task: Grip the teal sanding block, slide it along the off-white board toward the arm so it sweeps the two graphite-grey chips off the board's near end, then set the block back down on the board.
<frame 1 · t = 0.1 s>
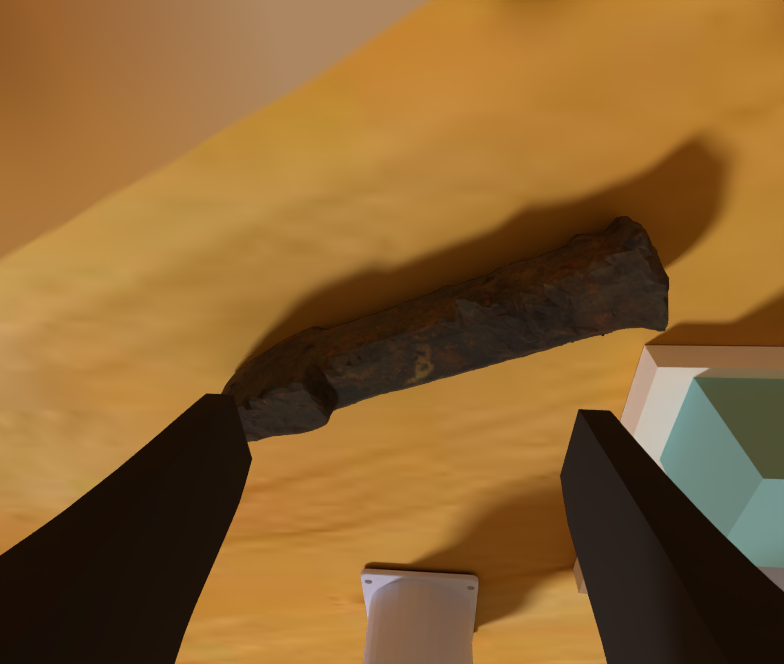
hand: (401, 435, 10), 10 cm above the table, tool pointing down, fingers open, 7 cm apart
mark chip 2: (762, 561, 25), point 1 cm above the table, touching board
hand tool: (413, 325, 21), on the table
board: (740, 485, 24), on the table
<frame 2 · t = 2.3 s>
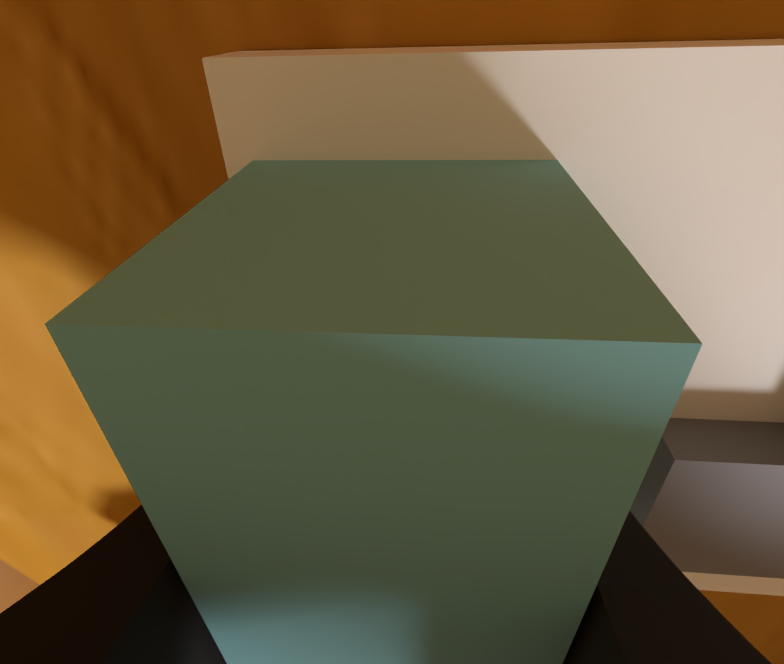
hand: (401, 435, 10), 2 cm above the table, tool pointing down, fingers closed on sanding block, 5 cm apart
mark chip 1: (714, 480, 11), point 1 cm above the table, touching board
sanding block: (403, 406, 11), point 1 cm above the table, touching board, gripper
board: (650, 374, 11), on the table
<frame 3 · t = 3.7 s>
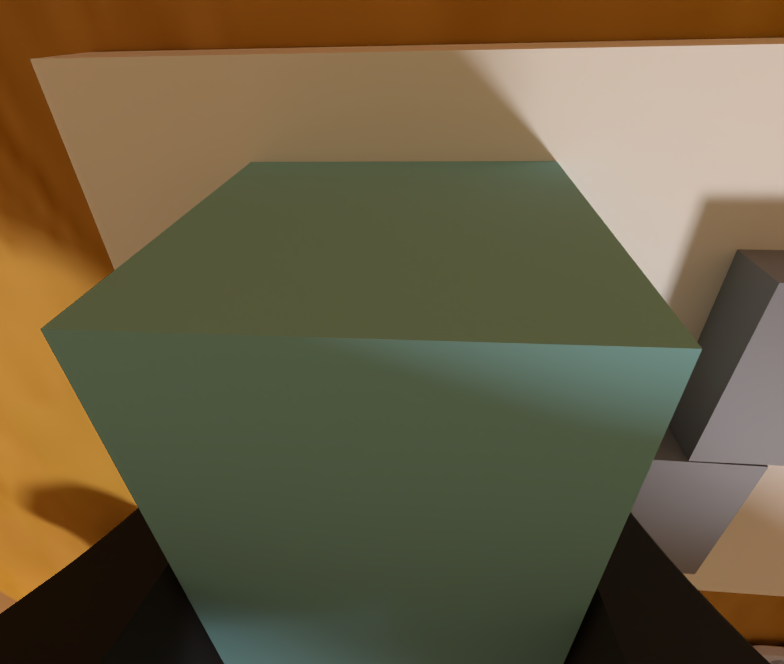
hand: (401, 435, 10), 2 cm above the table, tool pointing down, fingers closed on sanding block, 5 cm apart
mark chip 1: (617, 475, 11), point 2 cm above the table, touching gripper
sanding block: (403, 407, 11), point 2 cm above the table, touching gripper
board: (536, 370, 12), on the table
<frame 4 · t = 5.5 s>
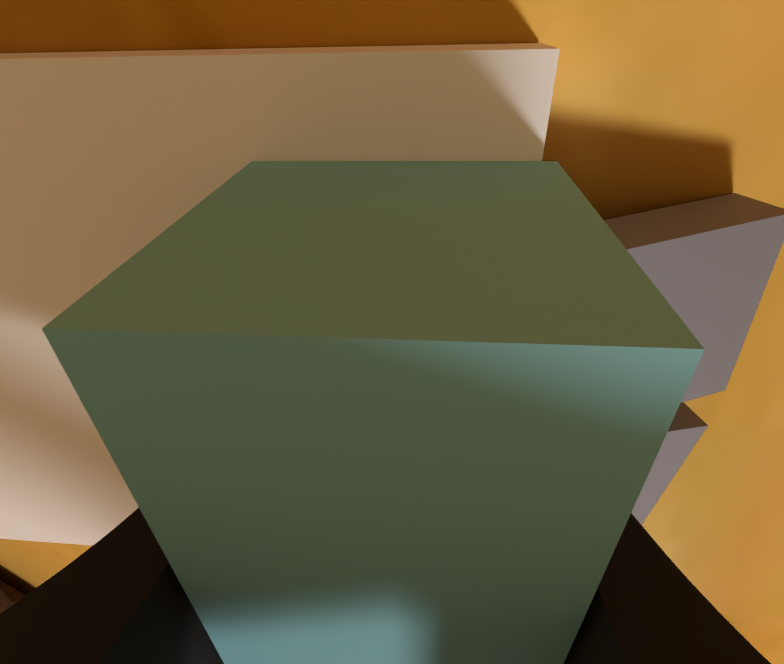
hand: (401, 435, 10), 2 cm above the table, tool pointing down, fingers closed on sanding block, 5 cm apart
mark chip 2: (623, 305, 10), point 1 cm above the table, tilted 20°
mark chip 1: (577, 454, 12), point 1 cm above the table, tilted 19°
hand tool: (86, 611, 23), on the table
sanding block: (403, 407, 11), point 2 cm above the table, touching gripper
board: (156, 355, 12), on the table
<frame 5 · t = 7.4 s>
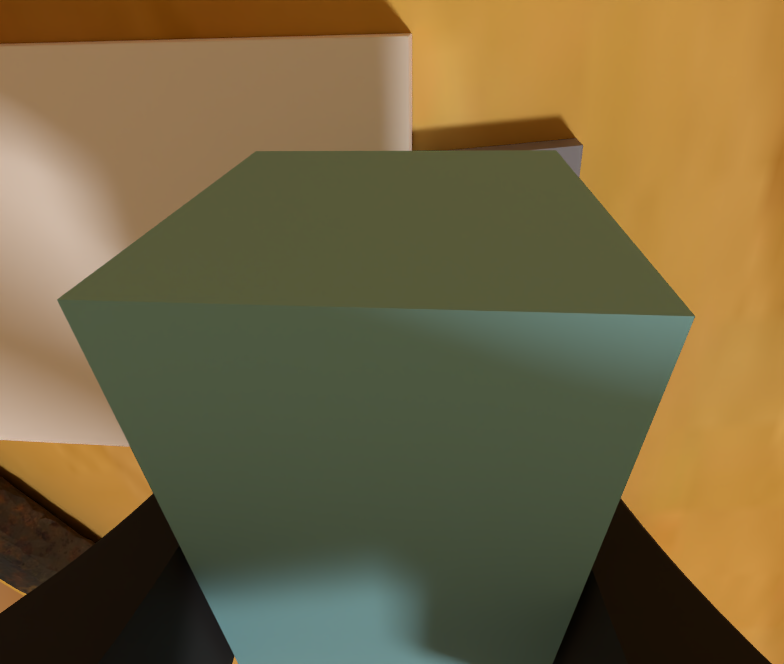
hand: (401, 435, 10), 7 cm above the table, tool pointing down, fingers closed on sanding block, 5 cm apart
mark chip 2: (496, 209, 14), on the table
hand tool: (97, 529, 27), on the table
sanding block: (404, 397, 11), point 6 cm above the table, touching gripper
board: (153, 279, 16), on the table
when the fingers open (4 cm above the table, at t = 9.3 s): sanding block drops 1 cm, resting on board.
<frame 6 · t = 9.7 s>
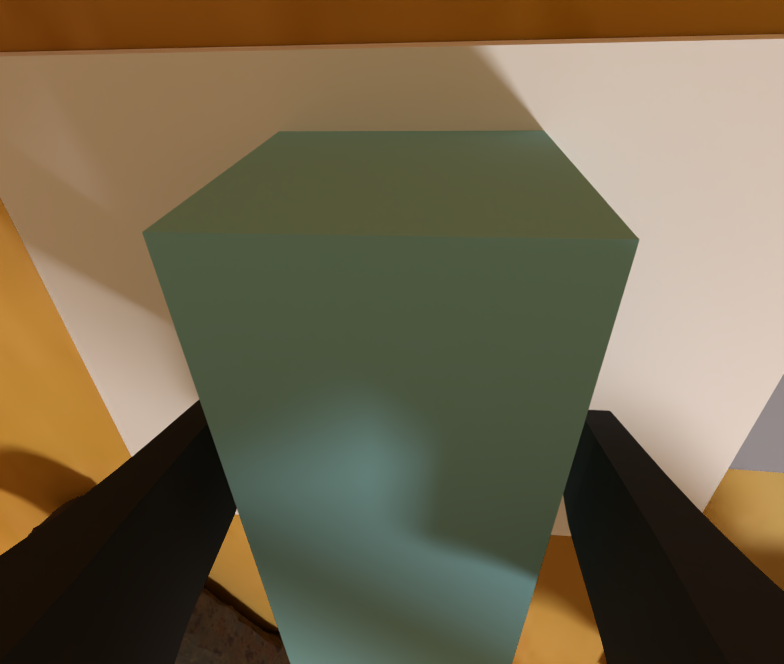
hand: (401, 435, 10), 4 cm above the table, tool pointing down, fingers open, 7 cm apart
hand tool: (232, 590, 24), on the table
sanding block: (408, 361, 12), point 1 cm above the table, touching board
board: (410, 332, 13), on the table
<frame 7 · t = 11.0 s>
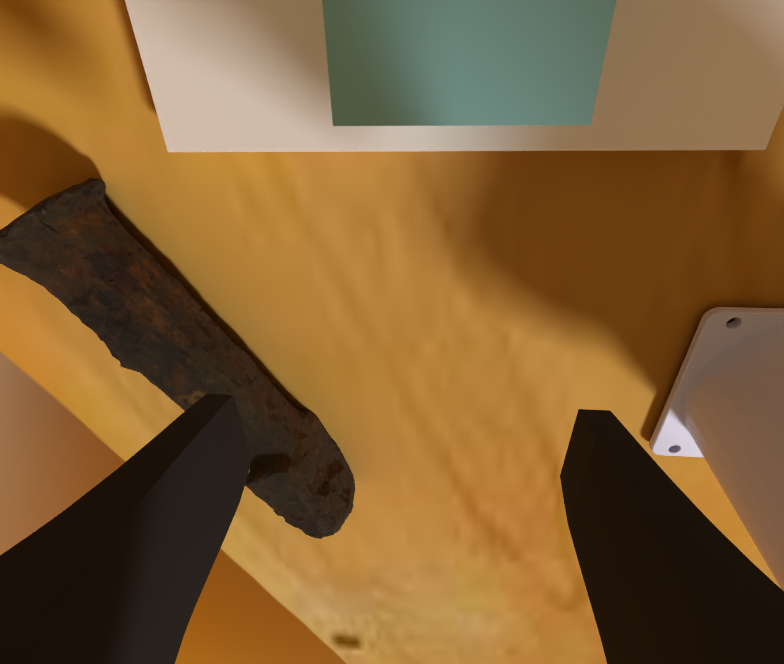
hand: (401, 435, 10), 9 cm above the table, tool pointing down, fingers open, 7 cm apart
hand tool: (249, 353, 22), on the table
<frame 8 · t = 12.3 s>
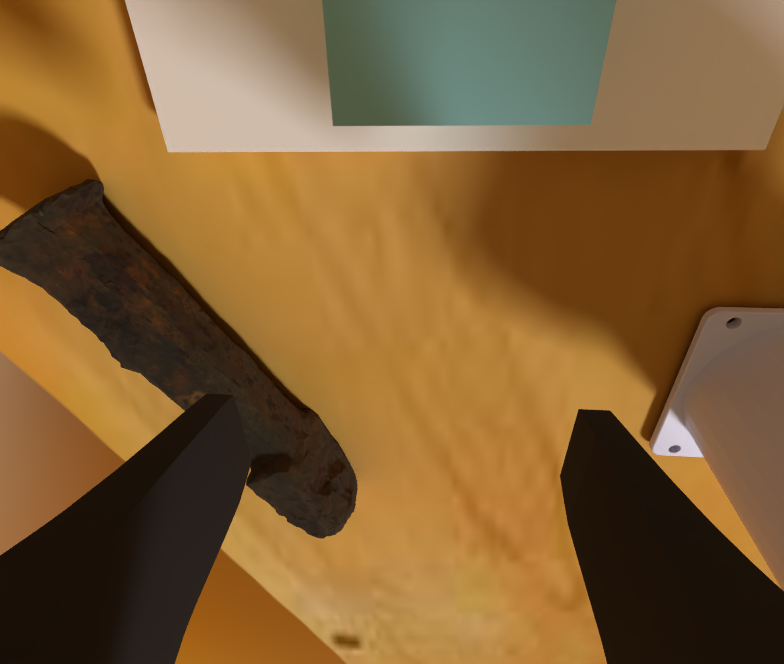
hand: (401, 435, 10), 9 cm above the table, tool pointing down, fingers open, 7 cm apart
hand tool: (250, 352, 22), on the table
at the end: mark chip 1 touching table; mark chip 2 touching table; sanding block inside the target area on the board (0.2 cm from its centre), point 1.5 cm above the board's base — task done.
